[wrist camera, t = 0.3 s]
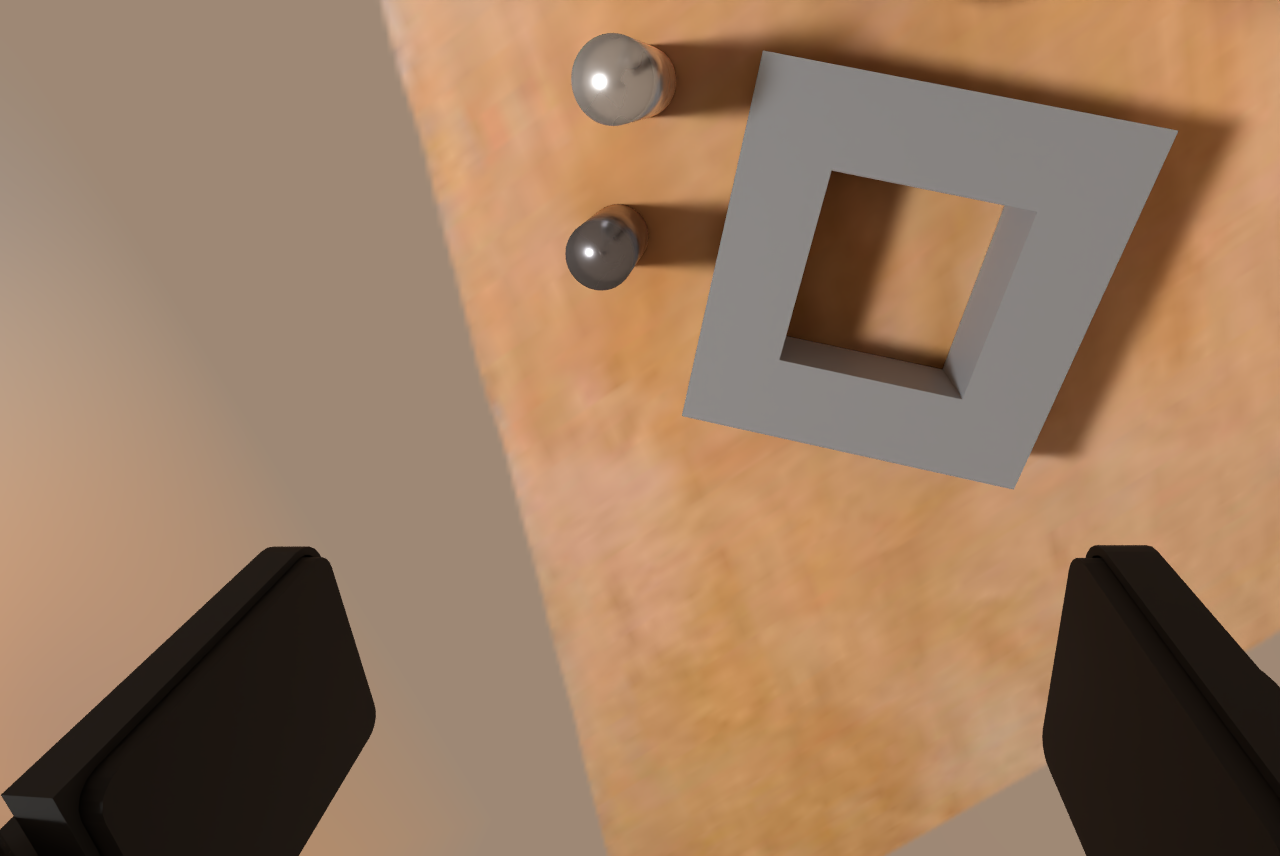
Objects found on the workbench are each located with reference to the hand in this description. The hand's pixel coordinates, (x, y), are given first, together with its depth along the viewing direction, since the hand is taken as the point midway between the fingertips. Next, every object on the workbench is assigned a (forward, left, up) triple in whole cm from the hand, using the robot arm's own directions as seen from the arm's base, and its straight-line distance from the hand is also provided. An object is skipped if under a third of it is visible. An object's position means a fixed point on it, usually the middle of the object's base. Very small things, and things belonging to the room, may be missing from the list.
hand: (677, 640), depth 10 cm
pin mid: (-6, -6, -29) cm, 30 cm away
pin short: (+1, -6, -29) cm, 30 cm away
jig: (0, +7, -29) cm, 30 cm away
